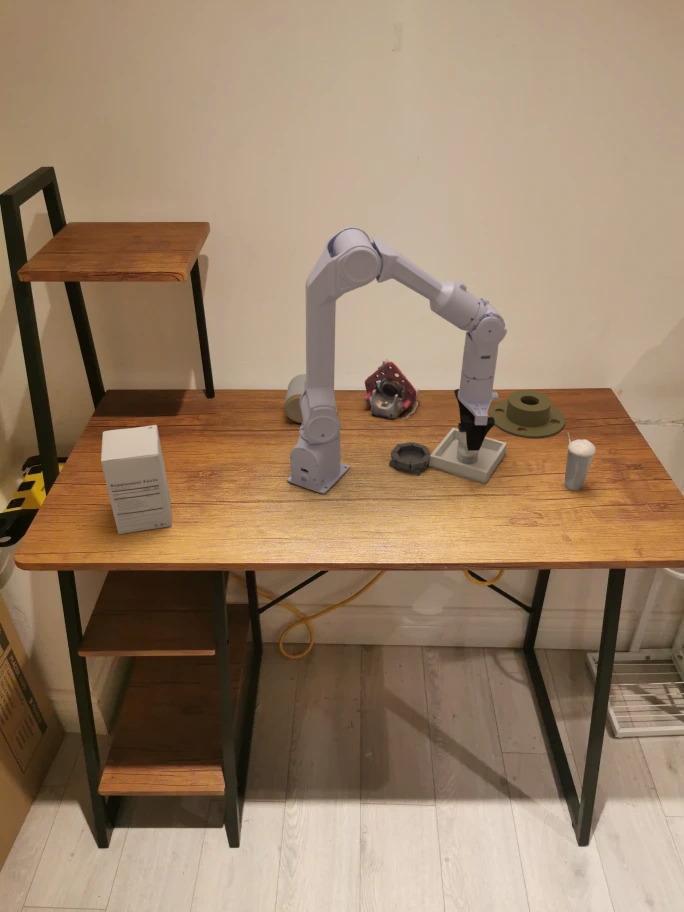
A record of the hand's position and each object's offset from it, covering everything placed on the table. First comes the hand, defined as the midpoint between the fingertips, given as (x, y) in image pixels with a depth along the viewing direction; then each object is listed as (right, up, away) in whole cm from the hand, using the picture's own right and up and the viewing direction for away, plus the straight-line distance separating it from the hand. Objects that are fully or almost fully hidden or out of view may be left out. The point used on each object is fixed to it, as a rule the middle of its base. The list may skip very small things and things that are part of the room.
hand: (470, 437), depth 133 cm
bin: (0, -4, +3) cm, 5 cm away
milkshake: (+18, -9, -3) cm, 20 cm away
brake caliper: (-13, +7, +19) cm, 24 cm away
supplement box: (-57, -13, -10) cm, 60 cm away
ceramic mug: (-30, +5, +17) cm, 35 cm away
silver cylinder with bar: (0, -4, +3) cm, 5 cm away
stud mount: (-11, -5, +2) cm, 12 cm away
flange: (+14, +4, +16) cm, 22 cm away
